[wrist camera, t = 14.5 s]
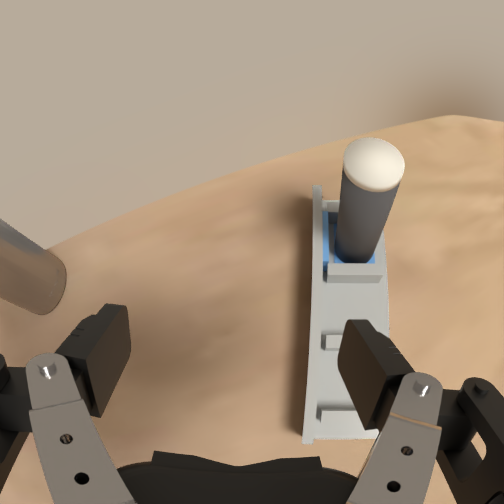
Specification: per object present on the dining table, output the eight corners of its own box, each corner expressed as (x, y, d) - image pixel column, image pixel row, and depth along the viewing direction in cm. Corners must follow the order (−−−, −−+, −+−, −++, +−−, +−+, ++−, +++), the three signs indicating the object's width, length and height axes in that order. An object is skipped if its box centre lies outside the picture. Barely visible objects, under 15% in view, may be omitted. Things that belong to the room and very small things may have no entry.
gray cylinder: (334, 265, 33) (345, 184, 20) (334, 228, 34) (341, 136, 22) (375, 266, 32) (409, 186, 19) (372, 229, 33) (398, 139, 21)
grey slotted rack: (303, 437, 27) (301, 443, 24) (313, 204, 37) (312, 185, 34) (382, 436, 26) (391, 442, 22) (378, 205, 36) (383, 186, 32)
